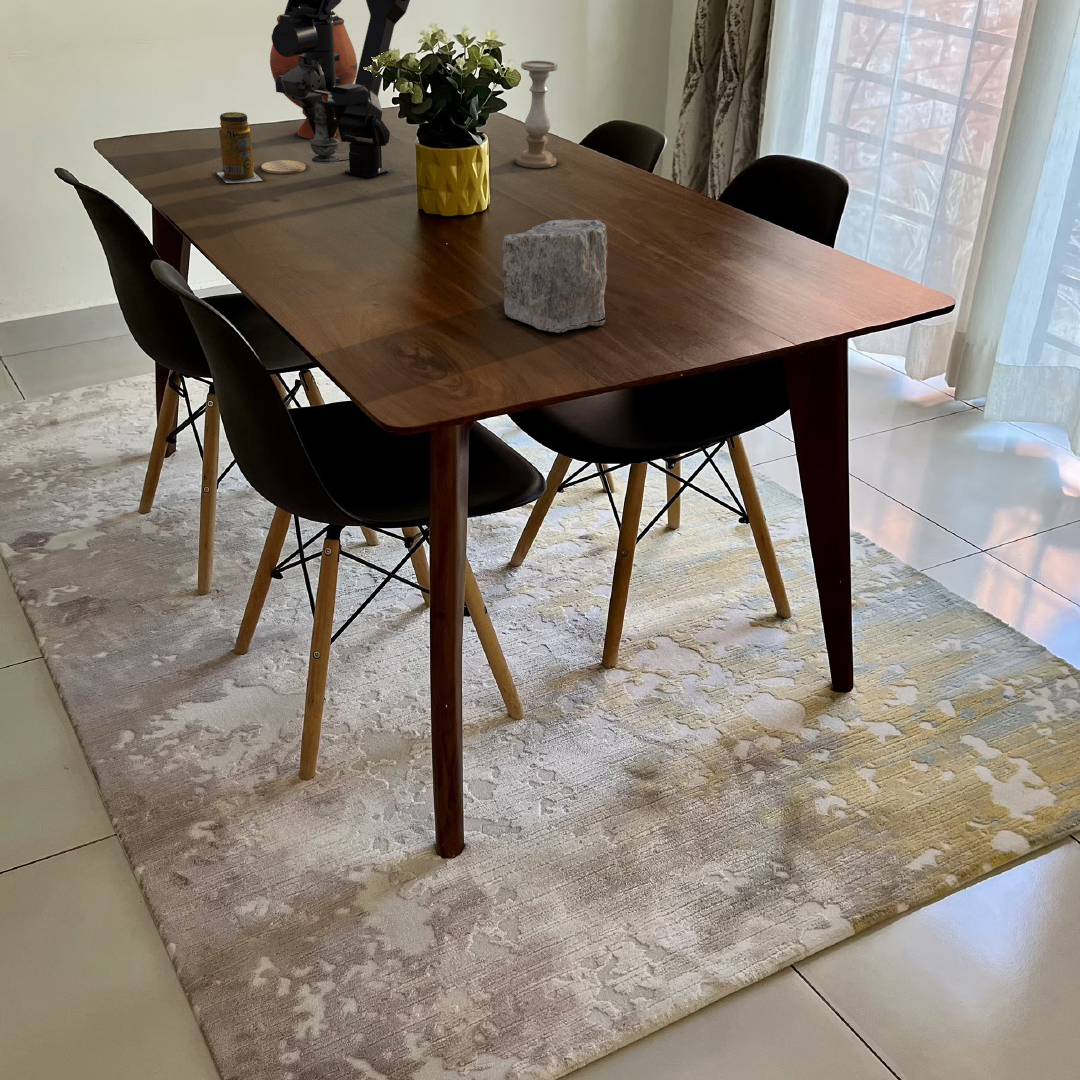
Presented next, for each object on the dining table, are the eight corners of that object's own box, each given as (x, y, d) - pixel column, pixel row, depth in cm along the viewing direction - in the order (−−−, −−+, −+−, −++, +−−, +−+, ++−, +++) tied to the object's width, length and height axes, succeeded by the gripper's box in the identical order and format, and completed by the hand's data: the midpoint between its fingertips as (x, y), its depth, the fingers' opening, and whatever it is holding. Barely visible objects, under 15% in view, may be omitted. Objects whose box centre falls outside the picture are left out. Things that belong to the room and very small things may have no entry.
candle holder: (531, 156, 261) (534, 58, 250) (564, 163, 257) (568, 63, 246) (507, 163, 255) (509, 63, 244) (540, 171, 251) (544, 69, 240)
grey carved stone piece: (311, 156, 233) (307, 91, 226) (341, 156, 233) (338, 92, 227) (308, 163, 228) (304, 98, 221) (339, 164, 228) (336, 98, 222)
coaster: (283, 160, 251) (282, 157, 251) (314, 167, 247) (314, 165, 246) (252, 168, 244) (251, 166, 244) (284, 176, 240) (284, 173, 240)
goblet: (353, 146, 263) (348, 25, 250) (266, 143, 263) (256, 21, 250) (365, 127, 279) (361, 12, 266) (283, 124, 279) (275, 8, 266)
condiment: (252, 170, 243) (246, 109, 237) (262, 181, 236) (257, 118, 230) (216, 173, 240) (209, 112, 234) (226, 184, 234) (219, 121, 227)
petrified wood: (539, 283, 191) (543, 189, 183) (636, 305, 184) (644, 209, 176) (476, 318, 177) (476, 218, 169) (577, 343, 170) (583, 240, 162)
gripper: (250, 48, 218) (258, 135, 226) (327, 61, 210) (332, 151, 218) (293, 41, 226) (299, 126, 234) (368, 53, 218) (371, 141, 226)
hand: (324, 136), depth 228 cm, fingers closed on grey carved stone piece, 3 cm apart
